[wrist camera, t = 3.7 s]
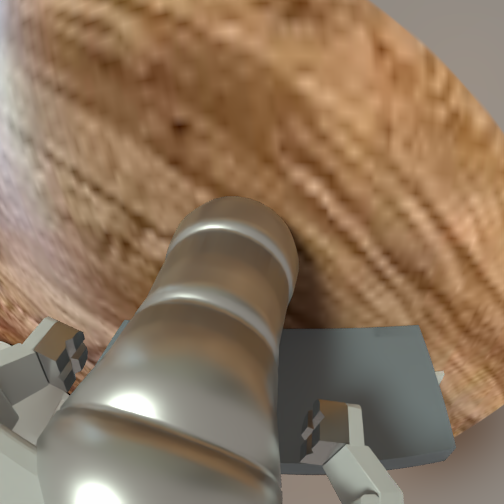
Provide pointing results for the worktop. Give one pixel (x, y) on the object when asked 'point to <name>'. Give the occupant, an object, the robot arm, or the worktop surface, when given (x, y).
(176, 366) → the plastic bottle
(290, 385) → the slate screen
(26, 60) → the worktop surface
